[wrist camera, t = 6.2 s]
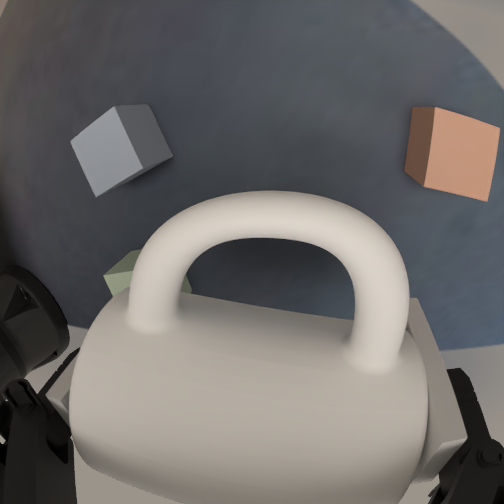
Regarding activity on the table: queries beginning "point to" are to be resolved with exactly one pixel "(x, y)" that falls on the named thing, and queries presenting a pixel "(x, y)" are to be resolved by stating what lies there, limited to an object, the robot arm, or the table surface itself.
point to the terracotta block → (451, 152)
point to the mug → (255, 370)
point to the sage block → (130, 274)
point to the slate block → (120, 147)
